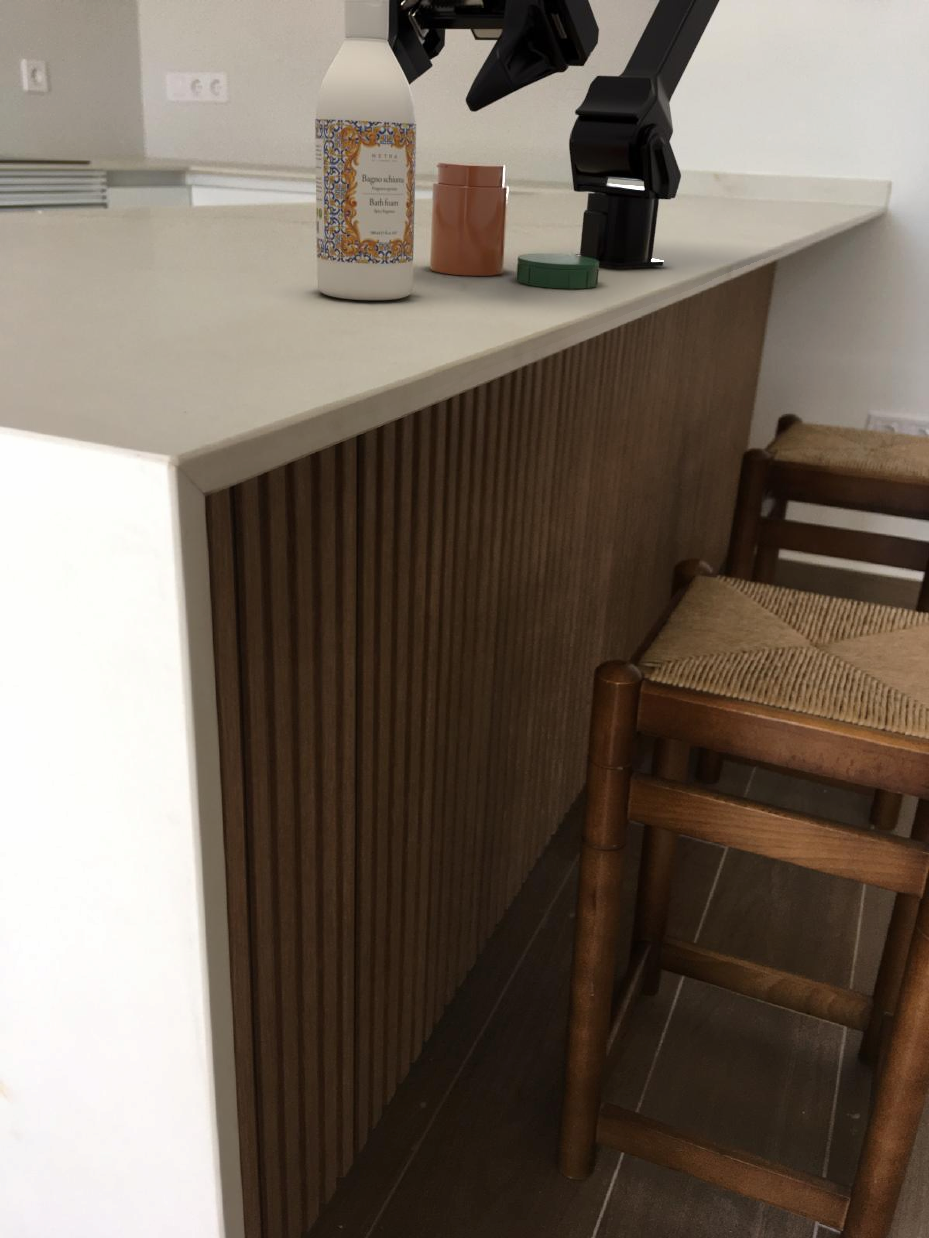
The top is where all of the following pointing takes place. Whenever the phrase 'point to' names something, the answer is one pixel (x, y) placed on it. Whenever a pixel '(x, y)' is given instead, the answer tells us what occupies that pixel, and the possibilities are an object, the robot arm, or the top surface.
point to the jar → (469, 219)
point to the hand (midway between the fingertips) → (420, 104)
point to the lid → (557, 271)
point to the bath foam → (365, 164)
